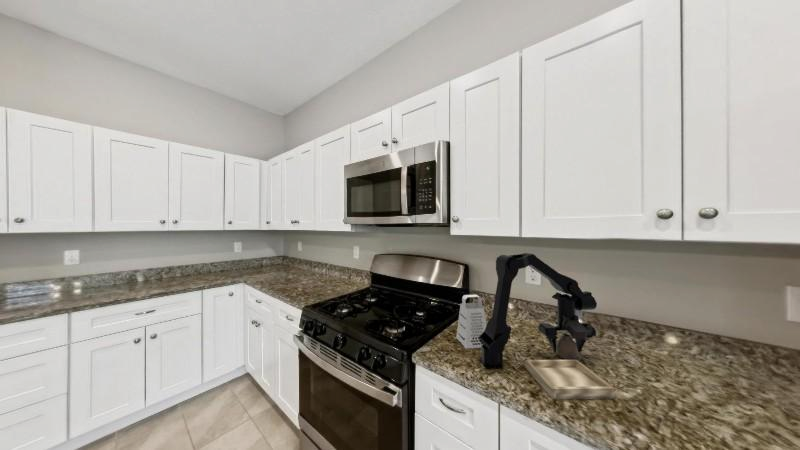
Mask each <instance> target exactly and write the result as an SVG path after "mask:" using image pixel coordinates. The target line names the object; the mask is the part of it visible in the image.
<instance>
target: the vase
mask: <svg viewBox="0 0 800 450" xmlns="http://www.w3.org/2000/svg"><path fill="white" fill-rule="evenodd" d="M569 334H570V333H568V334H567V333H562V335H561V336H560V337H558V338H557V340H556V353H557V354H558V356H559V357H560V358H561V359H562V360H576V358H577V357H578V353H579V352H578V348H577V345H576V341H575V340H573V339H572V338H571V336H570V335H569Z"/></svg>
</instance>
